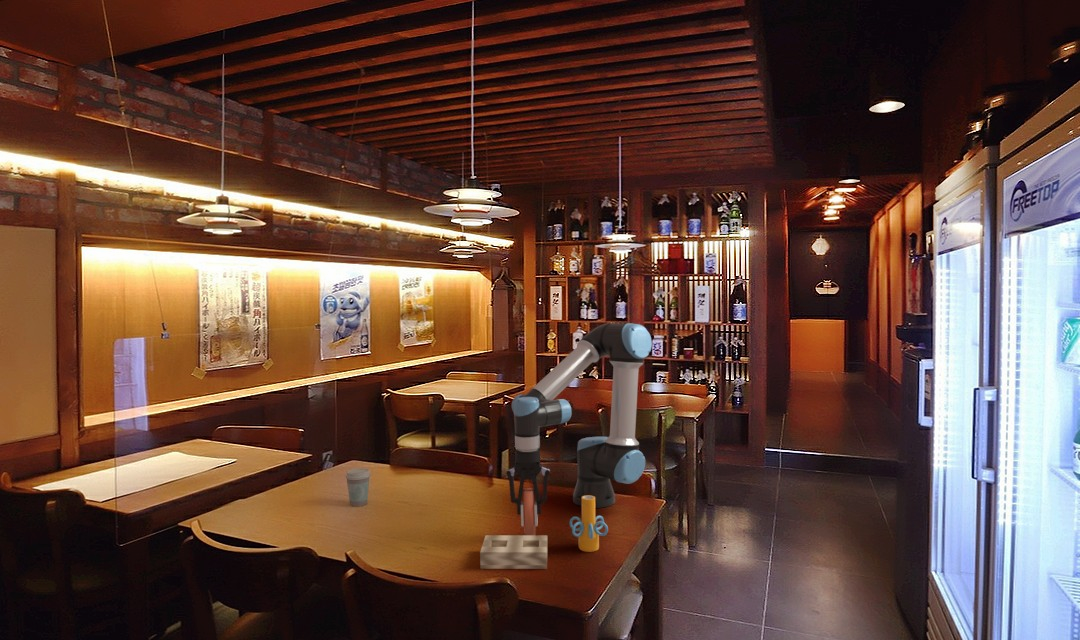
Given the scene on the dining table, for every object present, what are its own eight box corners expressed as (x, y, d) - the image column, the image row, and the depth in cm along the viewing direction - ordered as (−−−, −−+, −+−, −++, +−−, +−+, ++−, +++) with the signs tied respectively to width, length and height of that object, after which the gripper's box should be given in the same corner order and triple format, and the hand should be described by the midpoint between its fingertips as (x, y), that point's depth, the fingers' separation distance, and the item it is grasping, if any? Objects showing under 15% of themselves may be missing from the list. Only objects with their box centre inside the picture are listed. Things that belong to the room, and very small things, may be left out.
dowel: (535, 533, 188) (534, 488, 187) (535, 537, 184) (534, 491, 184) (524, 533, 188) (523, 488, 187) (523, 537, 184) (522, 492, 184)
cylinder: (568, 540, 184) (567, 491, 183) (602, 539, 185) (601, 490, 184) (573, 557, 172) (573, 505, 171) (610, 556, 173) (609, 503, 172)
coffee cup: (341, 506, 217) (340, 473, 217) (356, 499, 225) (356, 467, 225) (360, 509, 214) (360, 475, 214) (375, 501, 222) (375, 469, 222)
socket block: (547, 550, 177) (547, 535, 176) (546, 568, 165) (546, 552, 164) (485, 550, 177) (485, 535, 177) (480, 568, 165) (480, 552, 165)
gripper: (554, 445, 188) (556, 519, 189) (501, 446, 189) (503, 520, 190) (554, 451, 181) (556, 529, 182) (499, 452, 181) (501, 529, 182)
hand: (529, 524), depth 186 cm, fingers closed on dowel, 3 cm apart
